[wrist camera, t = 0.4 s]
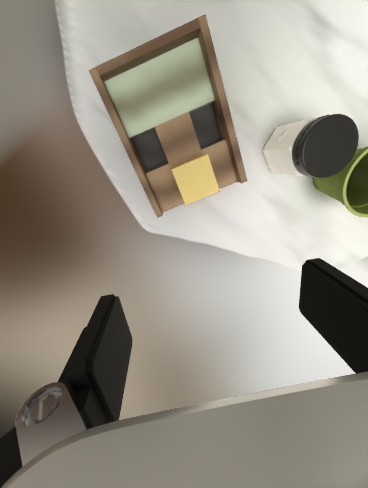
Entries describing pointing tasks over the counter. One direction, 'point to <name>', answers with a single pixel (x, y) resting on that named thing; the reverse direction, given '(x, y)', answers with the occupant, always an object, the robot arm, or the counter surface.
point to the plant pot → (349, 184)
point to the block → (195, 179)
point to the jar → (312, 146)
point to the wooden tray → (171, 110)
